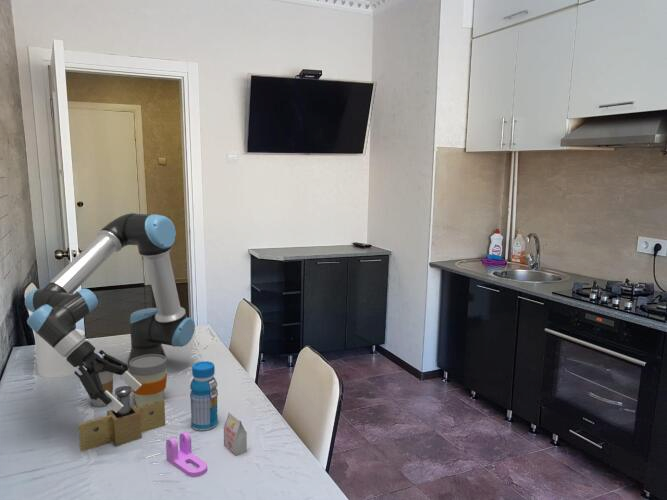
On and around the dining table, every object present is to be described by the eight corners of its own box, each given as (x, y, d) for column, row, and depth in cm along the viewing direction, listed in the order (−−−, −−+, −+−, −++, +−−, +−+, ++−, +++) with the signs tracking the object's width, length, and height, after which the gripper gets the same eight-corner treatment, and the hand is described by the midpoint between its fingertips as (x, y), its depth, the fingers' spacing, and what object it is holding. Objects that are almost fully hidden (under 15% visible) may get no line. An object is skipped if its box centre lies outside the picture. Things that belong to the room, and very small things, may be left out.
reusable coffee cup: (176, 398, 175) (175, 357, 172) (149, 413, 164) (147, 370, 161) (149, 391, 180) (148, 351, 178) (121, 405, 169) (119, 363, 166)
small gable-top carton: (235, 441, 148) (234, 410, 146) (246, 451, 143) (246, 419, 141) (224, 445, 146) (223, 414, 144) (235, 456, 141) (235, 423, 139)
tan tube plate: (160, 419, 160) (159, 396, 158) (169, 428, 154) (168, 404, 153) (77, 445, 144) (75, 419, 143) (84, 456, 139) (82, 430, 137)
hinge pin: (130, 430, 153) (128, 384, 150) (135, 436, 149) (133, 389, 147) (115, 435, 150) (112, 388, 148) (119, 441, 146) (117, 394, 144)
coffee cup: (120, 399, 173) (118, 358, 170) (102, 410, 165) (100, 367, 163) (101, 395, 175) (99, 355, 173) (83, 406, 168) (80, 363, 165)
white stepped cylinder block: (37, 380, 186) (31, 308, 182) (37, 365, 201) (32, 298, 196) (88, 372, 195) (84, 303, 190) (85, 357, 210) (81, 293, 205)
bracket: (166, 460, 138) (165, 437, 137) (184, 452, 142) (183, 429, 141) (193, 480, 130) (192, 455, 128) (211, 470, 134) (210, 446, 133)
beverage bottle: (194, 434, 152) (192, 372, 148) (188, 421, 159) (186, 362, 156) (221, 428, 155) (220, 367, 152) (214, 416, 163) (213, 358, 160)
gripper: (88, 342, 157) (137, 388, 160) (42, 375, 133) (101, 428, 135) (103, 327, 157) (153, 372, 159) (61, 356, 132) (120, 410, 135)
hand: (129, 398), depth 147 cm, fingers open, 13 cm apart
